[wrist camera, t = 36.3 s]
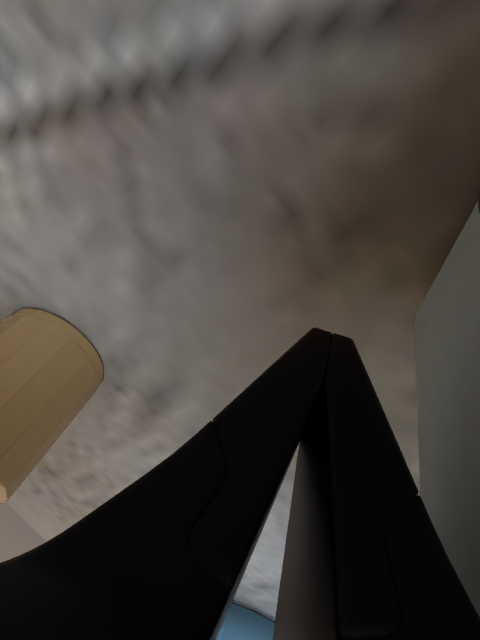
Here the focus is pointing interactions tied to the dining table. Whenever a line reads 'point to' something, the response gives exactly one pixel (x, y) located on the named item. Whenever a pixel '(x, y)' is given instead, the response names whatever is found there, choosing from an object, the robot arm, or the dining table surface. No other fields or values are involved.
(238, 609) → the teapot
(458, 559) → the drawer
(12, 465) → the stand
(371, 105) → the dining table surface
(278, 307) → the dining table surface
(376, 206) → the dining table surface
